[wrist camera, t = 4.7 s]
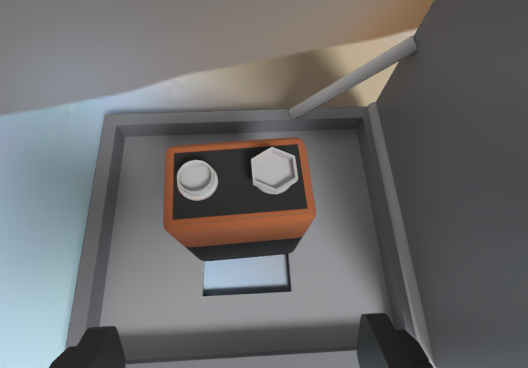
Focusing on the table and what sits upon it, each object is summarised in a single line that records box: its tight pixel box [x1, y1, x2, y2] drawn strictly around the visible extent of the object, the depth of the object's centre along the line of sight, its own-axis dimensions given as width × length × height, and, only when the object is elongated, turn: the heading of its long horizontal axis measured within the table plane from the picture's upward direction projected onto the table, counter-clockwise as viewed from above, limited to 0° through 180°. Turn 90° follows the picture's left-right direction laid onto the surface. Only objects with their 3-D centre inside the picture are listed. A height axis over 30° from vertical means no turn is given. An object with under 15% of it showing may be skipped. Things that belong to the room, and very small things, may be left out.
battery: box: [163, 137, 316, 261], centre depth 18 cm, size 4×7×10 cm, turn 95°
